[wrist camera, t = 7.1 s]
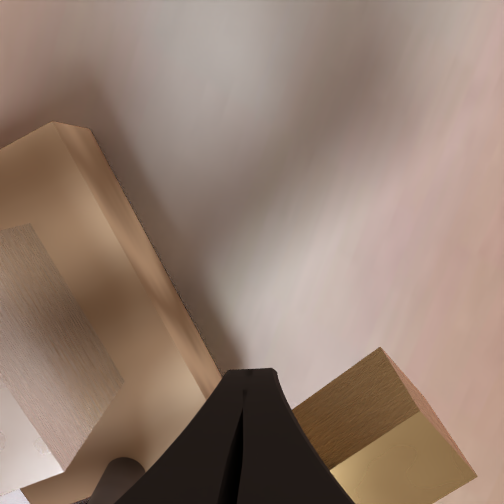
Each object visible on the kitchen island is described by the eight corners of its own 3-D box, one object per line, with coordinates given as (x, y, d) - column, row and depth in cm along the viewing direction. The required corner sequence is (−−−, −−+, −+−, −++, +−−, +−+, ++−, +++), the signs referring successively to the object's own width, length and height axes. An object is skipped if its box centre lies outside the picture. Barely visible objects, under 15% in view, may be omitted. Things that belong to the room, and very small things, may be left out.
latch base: (240, 411, 20) (222, 575, 12) (74, 474, 21) (-41, 656, 14) (89, 128, 17) (-72, 95, 9) (-93, 225, 18) (-372, 271, 10)
